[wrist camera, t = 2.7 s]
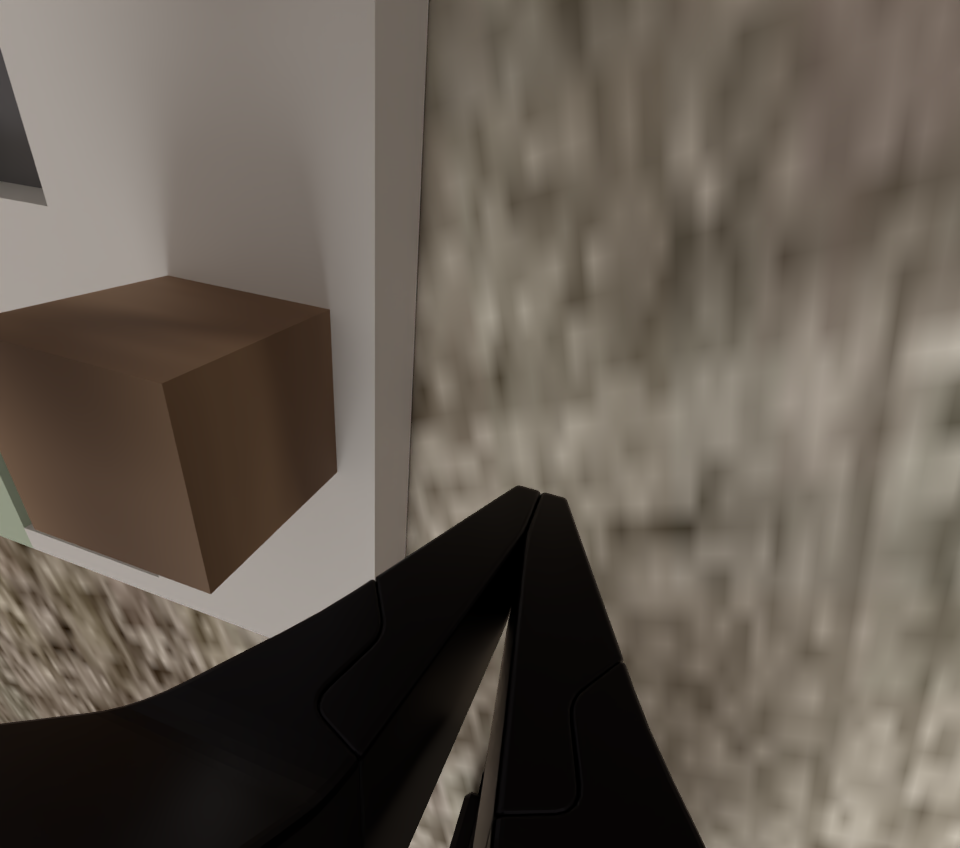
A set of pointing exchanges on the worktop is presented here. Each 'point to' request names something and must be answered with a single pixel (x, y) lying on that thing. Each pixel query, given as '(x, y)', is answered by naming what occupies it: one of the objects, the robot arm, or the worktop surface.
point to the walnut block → (167, 421)
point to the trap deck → (233, 227)
